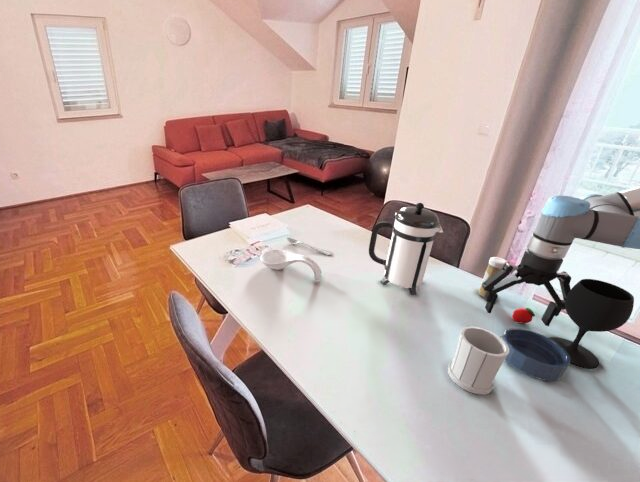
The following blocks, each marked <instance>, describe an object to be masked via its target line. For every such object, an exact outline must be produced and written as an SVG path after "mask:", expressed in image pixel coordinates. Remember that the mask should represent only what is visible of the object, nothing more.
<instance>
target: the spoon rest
mask: <svg viewBox="0 0 640 482" xmlns="http://www.w3.org/2000/svg"><path fill="white" fill-rule="evenodd" d="M259 259H260V262H261V263H262V264H263V265H264V266H266V267H267V268H269V269H272V270H276V271H280V270H283V269H285V268H286V267H288V266H290V265H292V264H294V263H304V264H306V265H307V266H308V267H310V269H311V270H312V272H313V277H314V283H316V284H317V283H318V282H319V281H320V280H321V278H322V277H323V274H322V270H321V269H322V268H321V267H320V266H319V264H318V263H317V262H316V261H314V259H312V258H310V257H309V256H306V255H303V254H299V253H293V252H290V251H287V250H283V249H270V250H267V251H265V252H263V253H262V254H261V255H260V257H259Z"/></svg>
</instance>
